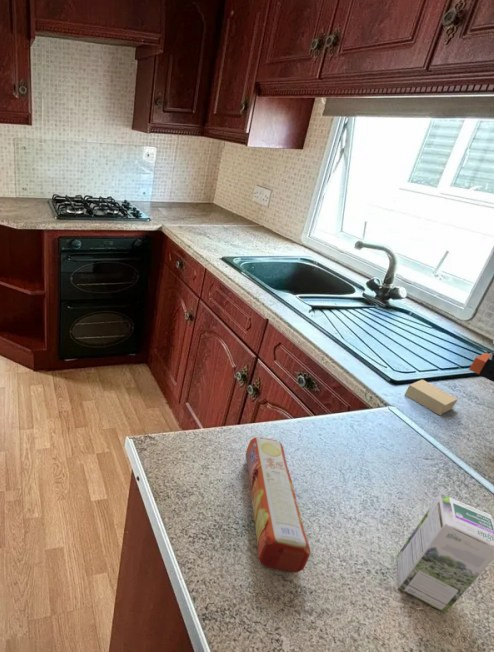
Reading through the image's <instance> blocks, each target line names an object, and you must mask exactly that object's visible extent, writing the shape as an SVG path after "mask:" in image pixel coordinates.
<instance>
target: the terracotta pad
mask: <svg viewBox="0 0 494 652" xmlns="http://www.w3.org/2000/svg"><path fill="white" fill-rule="evenodd" d="M490 355H491V354H490V353H488V352H485V353H482V354H480V355H478V356H476V357H474V359H473V361H472V362H471V365H470V367H469V368H468V370H469V371H471V372H473V373H475V374H477V375H479V373H480V371H481V370H482V368H483V366H484V365H485V363H486V361H487V360H488V358H489V357H490Z"/></svg>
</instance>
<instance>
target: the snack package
mask: <svg viewBox="0 0 494 652" xmlns="http://www.w3.org/2000/svg"><path fill="white" fill-rule="evenodd" d="M245 459H246V464H247V469H248V477H249V478H248V479H249V484H250V485H249V486H250V495H251V503H252V511H253V512H252V513H253V519H254V526H255V528H254V529H255V534H256V545H257V557H258V561H259V563H260V564H261V565H262V566H264V567H266V568H268V569H270V570H271V569H272V570H276V571H280V572H285V573H292V574H293V573H299V572H301V571H303V570H304V569H305V568H306V566H307V563H308V561H309V559H310V556H311V547H310V545H309V542H308V539H307V535H306V531H305V527H304V523H303V520H302V517H301V511H300V508H299V505H298V502H297V498H296V497H297V496H296V492H295V489H294V485H293V481H292V478H291V474H290V470H289V468H288V464H287V460H286V453H285V450H284V446H283V444H282V442H281V441H279V440H278V439H273V438H268V437H260V436H257V437H253V438H251V439H250V441H249V443H248V446H247V449H246V451H245Z"/></svg>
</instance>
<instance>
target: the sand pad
mask: <svg viewBox="0 0 494 652" xmlns="http://www.w3.org/2000/svg"><path fill="white" fill-rule="evenodd" d="M404 396H406V397H408V398H410V399H411V400H413V401H414V402H416V403H418V404H420V405H421V406H423V407H425V408H426V409H428V410H430V411H432V412H433V413H435V414H437V415H438V416H441V415H443V414H445V413H446V412H449V411H451V410H452V409H454V407H455V405H456V403H457V401H459V398H457V397H455V396H454V395H452V394H450V393H448V392H447V391H444V390H442V388H439V387H438V386H436V385H434V384H431V383H430V382H428V381H426V380H424V379H420V380H418V381H414V382H413V383H411V384H409V385H408V386H407V389H406V391H405V392H404Z"/></svg>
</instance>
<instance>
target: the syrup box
mask: <svg viewBox="0 0 494 652" xmlns="http://www.w3.org/2000/svg"><path fill="white" fill-rule="evenodd" d="M396 559H397V560H396V563H397V581H398V582H397V583H398V589H399V590H400V591H402V592H403V593H406V594H408V595H410V596H412V597H414V598H416V599H417V600H419V601H421V602H423V603H425V604H427V605H428V606H431V607H433V608H435V609H437V610H438V611H440V612H441V613H444V614H445V613H447V612H448V611H449V610H450V609H451V608H452V607H453V606H454V605H455V603H456V602H457V601H458V600H459V599H460V598H461V596H463V594H464V593H465V592H466V591H467V590H468V589H469V588H470V586H472V584H473V583H474V582H475V581H476V580H477V578H479V576H481V574H482V573H483V572H484V571H485V570H486V569H487V568H488V566H489V565H490V564H491V563H492V562H493V561H494V519H493V517H492V515H491V514H490V513H487V512H485V511H483V510H481V509H478V508H475V507H473V506H471V505H469V504H466V503H463V501H459V500H456V499H454V498H451V497H450V496H447V495H445V494H443V493H439V494H438V495H437V497H436V498H435V499H434V501H433V502H432V504H431V505H430V506H429V508H428V510H427V511H426V513H425V514H424V516H422V518H421V520H420V521H419V523H418V524H417V526H416V528H414V530H413V531H412V533H411V535H410V536H409V537H408V539H407V541H406V542H405V543H404V544H403V546H402V547H401V549H400V550H399V552H398V553H397V554H396Z"/></svg>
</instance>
